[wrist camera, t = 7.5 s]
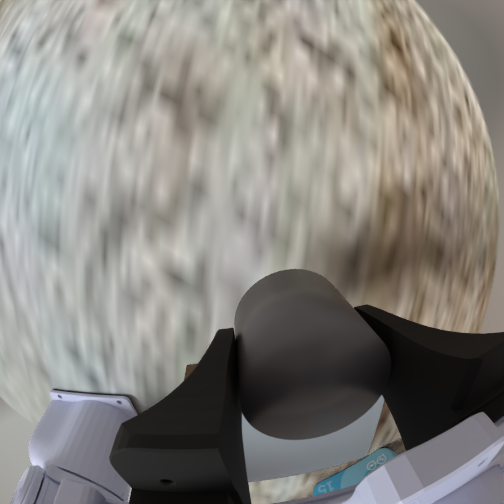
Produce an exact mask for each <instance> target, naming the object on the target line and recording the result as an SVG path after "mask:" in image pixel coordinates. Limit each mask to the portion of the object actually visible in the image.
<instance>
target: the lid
mask: <svg viewBox="0 0 504 504" xmlns="http://www.w3.org/2000/svg"><path fill="white" fill-rule="evenodd" d="M384 400H385V399H384V398H383V396H382V395H381V397H380V398H379V399H378V401H377V402H376V403H375V404H374V405H373V406H372V408H371V409H369V410H368V411H367V412H366V413H365V414H364V415H363V416H361V417H360V418H359V419H358V420H356V421H355V422H353V423H351V424H350V425H348V426H346V427H344V428H343V429H340V430H338V431H336V432H333V433H331V434H328V435H325V436H321V437H317V438H312V439H305V440H284V439H278V438H274V437H270V436H268V435H265V434H263V433H261V432H259V431H257V430H256V429H255V428H253V427H252V426H251V425H250V424H249V423H248V422H247V421H246V419H245V417H244V416H243V414H242V437H243V446H244V455H245V463H246V471H247V478H248V482H254V481H262V480H270V479H276V478H283V477H288V476H294V475H299V474H304V473H309V472H313V471H317V470H322V469H326V468H329V467H333V466H337V465H340V464H344V463H347V462H351V461H354V460H357V459H360V458H363V457H366V456H367V454H368V452H369V449H370V446H371V443H372V440H373V437H374V434H375V431H376V428H377V425H378V421H379V418H380V414H381V411H382V407H383V404H384Z"/></svg>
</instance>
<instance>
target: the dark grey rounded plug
mask: <svg viewBox="0 0 504 504" xmlns="http://www.w3.org/2000/svg"><path fill="white" fill-rule="evenodd" d="M234 325H235V340H236V354H237V370H238V384H239V397H240V407H241V411H242V414H243V416H244V417H245V419H246V421H247V422H248V423H249V424H250V425H251V426H252V427H253V428H255V429H256V430H257V431H259V432H261V433H263V434H265V435H268V436H270V437H274V438H278V439H284V440H305V439H312V438H317V437H321V436H325V435H328V434H331V433H333V432H336V431H338V430H340V429H343V428H344V427H346V426H348V425H350V424H351V423H353V422H355V421H356V420H358V419H359V418H360V417H361V416H363V415H364V414H365V413H366V412H367V411H368V410H369V409H371V408H372V406H373V405H374V404H375V403H376V402H377V401H378V399H379V398H380V397H381V395H382V393H383V392H384V390H385V388H386V386H387V384H388V381H389V378H390V375H391V368H392V364H391V356H390V353H389V350H388V348H387V346H386V345H385V343H384V342H383V341H382V340H381V339H380V337H379V336H378V335H377V334H376V333H375V332H374V331H373V329H372V328H371V327H370V326H369V325H368V324H367V323H366V321H365V320H364V319H363V318H362V317H361V316H360V315H359V313H358V312H357V311H356V310H355V309H354V308H353V307H352V306H351V305H350V303H349V302H348V301H347V300H346V299H345V298H344V297H343V296H342V295H341V293H340V292H339V291H338V290H337V289H336V288H335V287H334V286H333V285H332V284H331V283H330V282H329V281H328V280H327V279H326V278H324V277H323V276H321V275H319V274H317V273H314V272H311V271H308V270H302V269H290V270H283V271H279V272H276V273H273V274H270V275H268V276H266V277H264V278H263V279H261V280H259V281H258V282H257V283H255V284H254V285H253V286H252V287H251V288H250V289H249V290H248V291H247V292H246V293H245V295H244V296H243V297H242V299H241V301H240V303H239V305H238V307H237V310H236V314H235V323H234Z"/></svg>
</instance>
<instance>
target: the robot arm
mask: <svg viewBox="0 0 504 504" xmlns="http://www.w3.org/2000/svg"><path fill="white" fill-rule="evenodd" d="M354 309H355V310H356V311H357V312H358V313H359V315H360V316H361V317H362V318H363V319H364V320H365V321H366V323H367V324H368V325H369V326H370V327H371V328H372V329H373V331H374V332H375V333H376V334H377V335H378V336H379V337H380V339H381V340H382V341H383V342H384V343H385V345H386V346H387V348H388V350H389V353H390V356H391V364H392V368H391V375H390V378H389V381H388V384H387V386H386V388H385V390H384V392H383V393H382V396H383V398H384V399H385V401H386V403H387V405H388V407H389V409H390V411H391V414H392V416H393V418H394V420H395V423H396V425H397V427H398V430H399V432H400V435H401V438H402V440H403V443H404V446H405V449H406V452H403V453H401V454H399V455H397V456H396V457H394V458H392V459H390V460H388V461H386V462H384V463H382V464H381V465H379V466H378V467H377V468H375V469H374V470H372V471H371V472H369V473H368V474H367V475H366V476H365V477H364V478H363V479H362V480H361V481H360V483H359V484H356V485H352V486H349V487H346V488H343V489H339V490H336V491H332V492H328V493H324V494H320V495H316V496H312V497H307V498H302V499H297V500H292V501H286V502H280V503H273V504H504V332H500V333H487V334H472V333H459V332H451V331H445V330H440V329H436V328H432V327H428V326H424V325H421V324H418V323H415V322H412V321H409V320H406V319H404V318H401V317H398V316H396V315H393V314H391V313H388V312H386V311H384V310H381V309H378V308H376V307H373V306H370V305H362V306H357V307H354ZM49 394H50V396H51V398H52V399H53V400H52V401H51V403H50V405H49V406H48V408H47V410H46V411H45V413H44V415H43V416H42V418H41V420H40V421H39V423H38V425H37V427H36V429H35V430H34V432H33V434H32V436H31V439H30V442H29V456H30V460H31V462H32V464H33V466H29V467H28V468H27V469H26V470H25V472H24V474H23V476H22V477H21V479H20V481H19V483H18V485H17V487H16V490H15V492H14V495H13V497H12V500H11V503H10V504H251V499H250V492H249V485H248V478H247V471H246V463H245V455H244V446H243V437H242V411H241V407H240V397H239V384H238V370H237V354H236V340H235V334H234V329H233V328H228V329H220V330H218V331H217V333H216V335H215V337H214V339H213V341H212V342H211V344H210V346H209V348H208V349H207V351H206V353H205V354H204V356H203V357H202V359H201V360H200V362H199V363H198V364H197V366H196V367H195V368H194V370H193V371H192V372H191V373H190V375H189V376H188V377H187V378H186V379H185V380H184V381H183V382H182V383H181V384H180V385H179V386H178V387H177V388H176V389H175V390H174V391H172V392H171V393H170V394H169V395H168V396H167V397H165V398H164V399H163V400H161V401H160V402H158V403H157V404H156V405H154V406H152V407H151V408H149V409H148V410H146V411H144V412H143V413H141V414H139V415H138V414H137V412H136V410H135V408H134V406H133V404H132V402H131V401H130V399H129V398H128V397H126V396H110V395H95V394H83V393H73V392H64V391H56V390H51V391H50V392H49ZM130 487H131V488H132V491H131V496H130V501H129V502H127V501H128V496H129V491H130Z"/></svg>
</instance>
